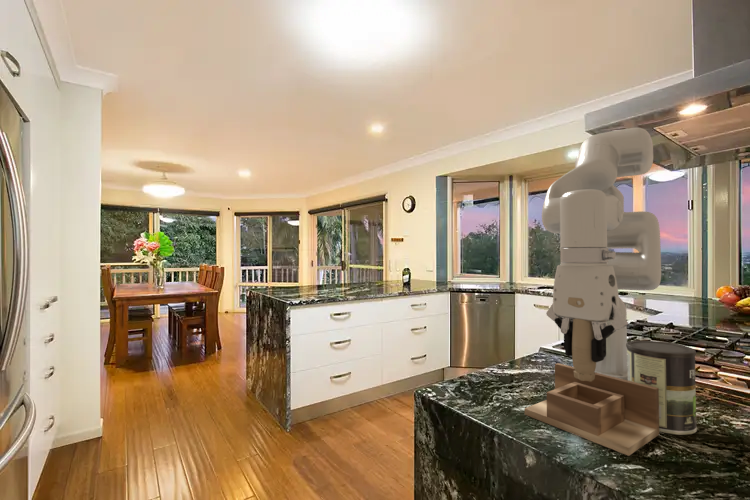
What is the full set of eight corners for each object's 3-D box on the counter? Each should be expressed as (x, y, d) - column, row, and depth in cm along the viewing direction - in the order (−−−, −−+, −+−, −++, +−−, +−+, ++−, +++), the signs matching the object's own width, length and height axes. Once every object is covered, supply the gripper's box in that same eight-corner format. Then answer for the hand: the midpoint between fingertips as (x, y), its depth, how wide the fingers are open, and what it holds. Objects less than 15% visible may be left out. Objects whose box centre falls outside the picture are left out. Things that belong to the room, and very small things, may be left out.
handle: (599, 387, 63) (598, 299, 64) (560, 377, 68) (559, 296, 68) (608, 380, 67) (607, 297, 67) (570, 372, 71) (569, 294, 72)
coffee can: (690, 417, 70) (689, 343, 71) (703, 441, 62) (701, 356, 62) (625, 406, 76) (624, 337, 76) (628, 426, 67) (627, 348, 67)
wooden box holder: (558, 400, 79) (557, 363, 79) (659, 434, 64) (658, 388, 64) (524, 414, 72) (524, 373, 72) (628, 455, 57) (628, 404, 57)
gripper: (644, 258, 63) (646, 365, 63) (551, 257, 77) (552, 345, 77) (625, 258, 59) (626, 373, 59) (529, 257, 73) (530, 351, 72)
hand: (584, 356), depth 68 cm, fingers closed on handle, 4 cm apart
